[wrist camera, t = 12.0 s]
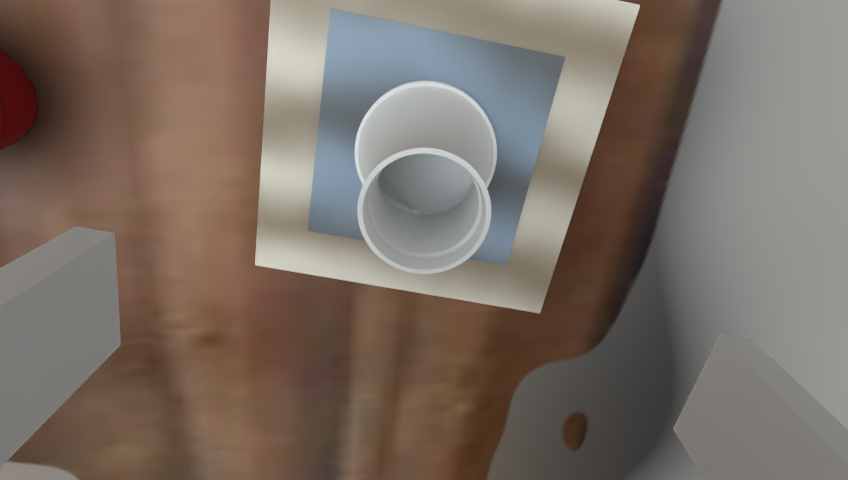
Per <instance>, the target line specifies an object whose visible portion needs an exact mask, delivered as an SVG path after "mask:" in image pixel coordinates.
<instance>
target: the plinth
mask: <svg viewBox="0 0 848 480" xmlns="http://www.w3.org/2000/svg"><path fill="white" fill-rule="evenodd" d="M639 8H640V5H638V4H633V3H628V2H624V1H619V0H271V6H270V23H269V39H268V56H267V73H266V90H265V106H264V123H263V140H262V156H261V173H260V190H259V207H258V223H257V240H256V257H255V265H257V266H263V267H269V268H275V269H281V270H287V271H292V272H298V273H304V274H310V275H316V276H322V277H328V278H334V279H340V280H346V281H352V282H357V283H363V284H369V285H375V286H381V287H387V288H393V289H399V290H405V291H411V292H417V293H422V294H428V295H434V296H440V297H446V298H452V299H458V300H464V301H470V302H476V303H482V304H487V305H493V306H499V307H505V308H511V309H517V310H523V311H529V312H535V313H540V312H541V309H542V306H543V303H544V300H545V296H546V293H547V290H548V287H549V284H550V281H551V278H552V275H553V272H554V269H555V266H556V263H557V260H558V257H559V253H560V250H561V247H562V244H563V241H564V238H565V235H566V232H567V229H568V226H569V223H570V220H571V217H572V214H573V210H574V207H575V204H576V201H577V198H578V195H579V192H580V189H581V186H582V183H583V180H584V177H585V174H586V170H587V167H588V164H589V161H590V158H591V155H592V152H593V149H594V146H595V143H596V140H597V137H598V134H599V131H600V127H601V124H602V121H603V118H604V115H605V112H606V109H607V106H608V103H609V100H610V97H611V94H612V91H613V88H614V84H615V81H616V78H617V75H618V72H619V69H620V66H621V63H622V60H623V57H624V54H625V51H626V48H627V44H628V41H629V38H630V35H631V32H632V29H633V26H634V23H635V20H636V17H637V14H638V11H639ZM420 80H430V81H438V82H443V83H447V84H450V85H452V86H454V87H457V88H459V89H460V90H462V91H464V92H465V93H467V94H468V95H469V96H470V97H472V98H473V99H474V100H475V101H476V102H477V103H478V104H479V106H480V107H481V108H482V110H483V111H484V112H485V114H486V116H487V117H488V119H489V121H490V123H491V125H492V128H493V130H494V134H495V138H496V144H497V161H496V167H495V171H494V174H493V177H492V180H491V182H490V184H489V186H488V188H487V190H488V193H489V196H490V201H491V221H490V226H489V229H488V232H487V234H486V237H485V239H484V241H483V242H482V244H481V245H480V247H479V248H478V249H477V251H476V252H475V253H474V254H473V255H472V256H471V257H470V258H468V259H467V260H466V261H464V262H463V263H461V264H460V265H458V266H456V267H454V268H452V269H449V270H446V271H443V272H439V273H433V274H416V273H410V272H406V271H403V270H400V269H397V268H395V267H393V266H391V265H389V264H388V263H386V262H384V261H383V260H382V259H381V258H379V257H378V256H377V255H376V254H375V253H374V252H373V251H372V250H371V248H370V247H369V246H368V244H367V243H366V241H365V239H364V237H363V235H362V233H361V230H360V227H359V222H358V215H357V206H358V199H359V195H360V191H361V189H362V186H363V185H362V183H361V180H360V178H359V175H358V172H357V169H356V164H355V141H356V136H357V132H358V129H359V127H360V124H361V122H362V120H363V118H364V116H365V115H366V113H367V112H368V110H369V109H370V108H371V107H372V105H373V104H374V103H375V102H376V101H377V100H378V99H379V98H380V97H381V96H383V95H384V94H385V93H386V92H388V91H390V90H391V89H393V88H395V87H397V86H399V85H402V84H405V83H409V82H413V81H420ZM380 240H381V239H380Z"/></svg>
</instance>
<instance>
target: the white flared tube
mask: <svg viewBox="0 0 848 480" xmlns="http://www.w3.org/2000/svg"><path fill="white" fill-rule="evenodd" d="M496 161H497V144H496V138H495V134H494V130H493V128H492V125H491V123H490V121H489V119H488V117H487V116H486V114H485V112H484V111H483V110H482V108H481V107H480V106H479V104H478V103H477V102H476V101H475V100H474V99H473V98H472V97H470V96H469V95H468V94H467V93H465V92H464V91H462V90H460V89H459V88H457V87H454V86H452V85H450V84H447V83H443V82H438V81H430V80H420V81H413V82H409V83H405V84H402V85H399V86H397V87H395V88H393V89H391V90H390V91H388V92H386V93H385V94H384V95H383V96H381V97H380V98H379V99H378V100H377V101H376V102H375V103H374V104H373V105H372V107H371V108H370V109H369V110H368V112H367V113H366V115H365V116H364V118H363V120H362V122H361V124H360V127H359V129H358V132H357V136H356V141H355V164H356V169H357V172H358V175H359V178H360V180H361V183H362V185H363V186H362V189H361V191H360V195H359V199H358V206H357V215H358V222H359V227H360V230H361V233H362V235H363V237H364V239H365V241H366V243H367V244H368V246H369V247H370V248H371V250H372V251H373V252H374V253H375V254H376V255H377V256H378V257H379V258H381V259H382V260H383V261H384V262H386V263H388V264H389V265H391V266H393V267H395V268H397V269H400V270H403V271H406V272H410V273H416V274H433V273H439V272H443V271H446V270H449V269H452V268H454V267H456V266H458V265H460V264H461V263H463V262H464V261H466V260H467V259H468V258H470V257H471V256H472V255H473V254H474V253H475V252H476V251H477V249H478V248H479V247H480V245H481V244H482V242H483V241H484V239H485V237H486V234H487V232H488V229H489V226H490V221H491V201H490V196H489V193H488V190H487V188H488V186H489V184H490V182H491V180H492V177H493V174H494V171H495V167H496ZM380 239H381V240H380Z"/></svg>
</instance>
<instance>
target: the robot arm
mask: <svg viewBox="0 0 848 480" xmlns="http://www.w3.org/2000/svg"><path fill="white" fill-rule="evenodd" d="M120 345H121V340H120V322H119V304H118V286H117V268H116V250H115V233H112V232H106V231H100V230H94V229H88V228H82V227H74V228H72V229H70V230H69V231H67V232H65V233H63V234H61V235H59V236H58V237H56V238H54V239H52V240H50V241H49V242H47V243H45V244H43V245H41V246H39V247H38V248H36V249H34V250H32V251H30V252H28V253H27V254H25V255H23V256H21V257H19V258H18V259H16V260H14V261H12V262H10V263H8V264H7V265H5V266H3V267H1V268H0V467H1V466H2V465H3V464H4V463H5V462H6V461H7V460H8V459H9V458H10V457H11V456H12V455H13V454H14V453H15V452H16V451H17V450H18V449H19V448H20V447H21V446H22V445H23V444H24V443H25V442H26V441H27V440H28V439H29V438H30V437H31V436H32V435H33V434H34V433H35V432H36V431H37V430H38V429H39V428H40V427H41V426H42V425H43V423H44V422H45V421H46V420H47V419H48V418H49V417H50V416H51V415H52V414H53V413H54V412H55V411H56V410H57V409H58V408H59V407H60V406H61V405H62V404H63V403H64V402H65V401H66V400H67V399H68V398H69V397H70V396H71V395H72V394H73V393H74V392H75V391H76V390H77V389H78V388H79V387H80V386H81V385H82V384H83V383H84V382H85V381H86V380H87V379H88V378H89V377H90V376H91V375H92V374H93V373H94V372H95V370H96V369H97V368H98V367H99V366H100V365H101V364H102V363H103V362H104V361H105V360H106V359H107V358H108V357H109V356H110V355H111V354H112V353H113V352H114V351H115V350H116V349H117V348H118V347H119V346H120ZM673 430H674V431H675V433H676V434H677V436H678V438H679V439H680V441H681V442H682V444H683V446H684V447H685V449H686V450H687V452H688V453H689V455H690V457H691V458H692V460H693V461H694V463H695V464H696V466H697V468H698V470H699V471H700V473H701V474H702V476H703V477H704V479H705V480H848V429H847V428H845V427H844V426H843V425H842V424H841V423H840V422H839V421H838V420H837V419H836V418H835V417H834V416H833V415H832V414H830V413H829V412H828V411H827V410H826V409H825V408H824V407H823V406H822V405H821V404H820V403H819V402H817V400H815V399H814V398H813V397H812V396H811V395H810V394H809V393H808V392H807V391H806V390H805V389H804V388H803V387H802V386H800V385H799V384H798V383H797V382H796V381H795V380H794V379H793V378H792V377H791V376H790V375H789V374H788V373H786V372H785V371H784V370H783V369H782V368H781V367H780V366H779V365H778V364H777V363H776V362H775V361H774V360H773V359H771V358H770V357H769V356H768V355H767V354H766V353H765V352H764V351H763V350H762V349H761V348H760V347H759V346H758V345H756V344H755V343H754V342H753V341H752V340H750V339H743V338H738V337H731V336H725V335H719V336H718V338H717V340H716V342H715V344H714V346H713V348H712V350H711V352H710V355H709V356H708V358H707V360H706V363H705V365H704V367H703V369H702V371H701V373H700V375H699V377H698V379H697V381H696V383H695V385H694V387H693V389H692V391H691V393H690V395H689V397H688V399H687V401H686V404H685V405H684V407H683V410H682V411H681V414H680V416H679V418H678V420H677V422H676V424H675V426H674V428H673Z"/></svg>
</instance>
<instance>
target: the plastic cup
mask: <svg viewBox="0 0 848 480" xmlns="http://www.w3.org/2000/svg"><path fill="white" fill-rule="evenodd" d="M37 108H38V105H37V101H36V96H35V91H34V87H33V86H32V84H31V82H30V81H29V79H28V77H27V76H26V74H25V72H24V71H23V69H22V68H21V67H20V66H19V65H18V64H17V63H16V62H15V61H13V60H12V59H11V58H10V57H9V56H8V55H7V54H6V53H4V52H2V51H0V150H1V149H3V148H5V147H6V146H8V145H10V144H12V143H14V142H16V141H18V140H19V139H20V138H21V137H22V136H23V135H25V134H26V132H27V131H28V130H29V129H30V128H31V127H32V125H33V124H34V123H35V118H36V113H37Z"/></svg>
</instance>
